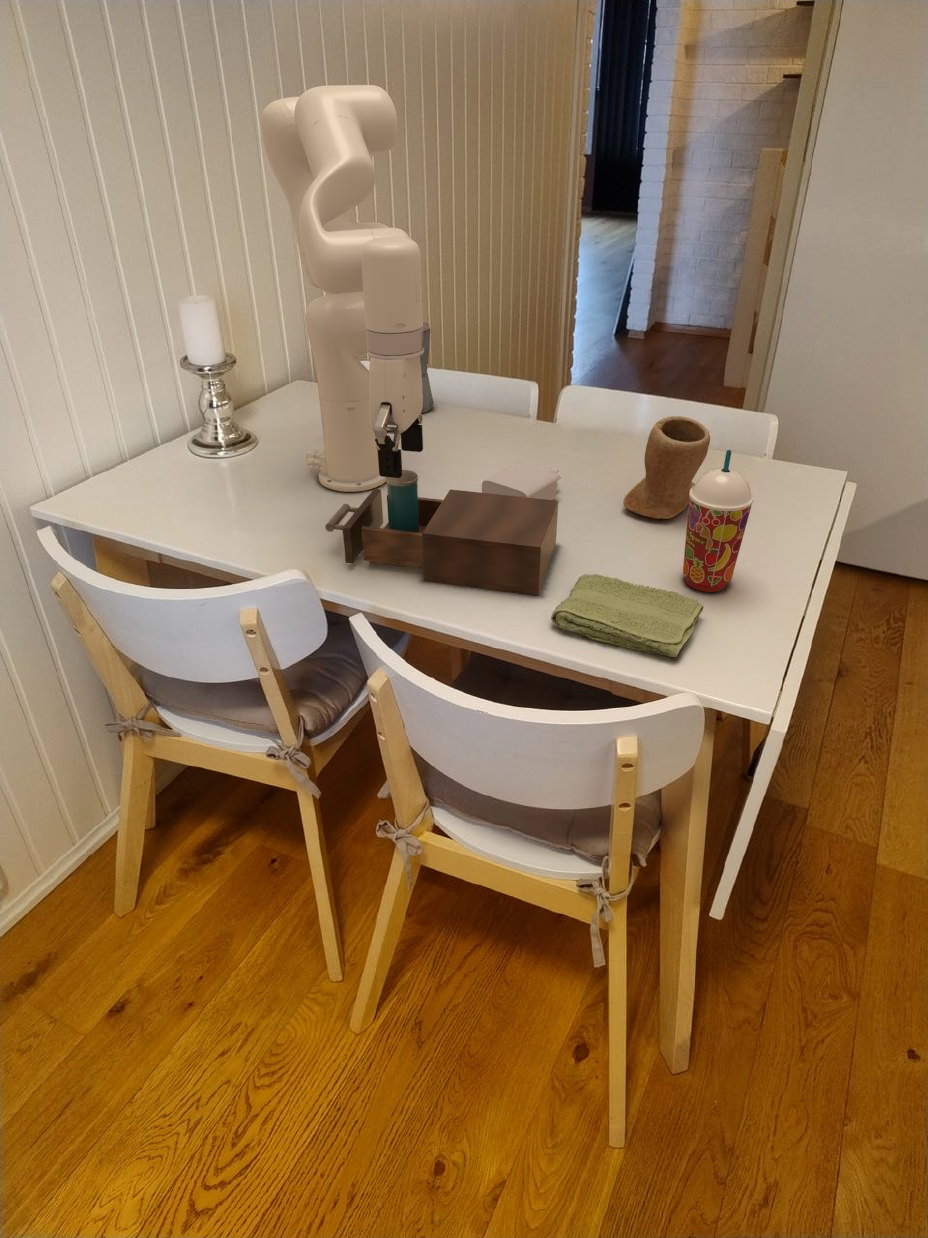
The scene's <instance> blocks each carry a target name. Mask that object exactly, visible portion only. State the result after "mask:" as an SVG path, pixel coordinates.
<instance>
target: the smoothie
mask: <svg viewBox="0 0 928 1238" xmlns="http://www.w3.org/2000/svg"><path fill="white" fill-rule="evenodd" d="M731 457H732V450H731V449H726V452H725V457H724V462H723V467H719V468H714V469H711V470H708V471H707V472H704V473H703V475H701V476H700V477H699V478H698V480H697V481H696V482H695V485H694V486H693V487H692V488H691V489H690V491H689V504H688V506H687V507H688V508H687V519H686V531H685V541H684V542H685V543H684V553H683V564H682V565H683V566H682V574H683V576H684V578H685V583H686V584H687V585H688V586H689V587H690V588H692V589H695V590H697V591H700V592H704V593H715V592H720V591H722V590H724V589H725V588H726V586H727V585H728V584H729V583H730V582H731V580H732V579H733V575H734V572H735V567H736V564H737V561H738V557H739V553H740V550H741V546H742V543H743V539H744V535H745V533H746V529H747V524H748V520H749V517H750V513H751V510H752V505H753V503H754V500H755V499H754V495H753V494H752V492H751V488H750V485H749V483H748V481H747V480H746V479H745V477H744V476H743V475H742V474H741V473H740V472H739V471H736V470H734V469H731V468H730V462H731Z"/></svg>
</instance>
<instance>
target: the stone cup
mask: <svg viewBox="0 0 928 1238" xmlns="http://www.w3.org/2000/svg"><path fill="white" fill-rule="evenodd" d="M646 442H647V443H646V446H645V452H644V470H645V477H643V478H642V479H641V480H640V482H638V483H637V484H636V485H635V486H633V488H631V489H630V490H629V492H627V494H626V495H625V496H624V498H623V501H622V504H623V506H624V508H626V509H627V510H629V511H631V512H632V513H635V514H636V515H641V516H644V517H648V518H651V519H661V520H668V519H672V518H674V517H676V516H677V515H679V514H680V513H682V512H683V511H684V510H685V509H686V508H687V507H688V506H689V491H690V489H691V488H692V487H693V486H694V485H695V484H696V482H693V480H694V478H695V476H696V475H697V473H698V471H699V469H700V468H701V466H702V465H703V463H704V461H705V459H706V457H707V455H708V452H709V447H710V444H711V435H710V431H709V430H708V428H707V427H705V425H704V424H702V423H701V422H700V421H698V420H695V419H693V418H692V417H691V418H690V417H687V416H680V415H671V416H667V417H663V418H661V419H660V420H658V421H657V422H656V423H655V424H654V425H653V426H652V428H651V430H650V432H649V435H648V439H647V441H646Z"/></svg>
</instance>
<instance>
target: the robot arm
mask: <svg viewBox="0 0 928 1238" xmlns="http://www.w3.org/2000/svg"><path fill="white" fill-rule="evenodd" d="M260 126H261V128H260V129H261V135H262V142H263V146H264V150H265V154H266V157H267V161H268V163H269V165H270V168H271V170H272V172H273V175H274V177H275V179H276V181H277V183H278V184H279V186H280V189H281V190H282V192H283V194H284V197H285V199H286V201H287V203H288V206H289V210H290V214H291V220H292V224H293V228H294V233H295V238H296V243H297V247H298V252H299V258H300V261H301V265H302V269H303V272H304V275H305V278H306V279H307V281H308V282H309V284H310V285H312V286H313V287H315V288H317V289H320V290H321V291H323V292H325V293H328V294H325V295H321V296H319V297H316V298H314V300H312V301H311V302H310V303H309V304H308V305H307V307H306V310H305V314H304V322H305V327H306V334H307V336H308V341H309V344H310V348H311V353H312V357H313V360H314V366H315V372H316V380H317V381H316V382H317V392H318V401H319V409H320V417H321V418H320V419H321V427H322V436H323V448H324V449H323V450H322V451H318V450H312V449H307V450H306V452H305V460H306V464H307V466H311V467H319V468H320V470H319V472H318V481H319V483H320V484H321V485H322V486H323V487H325V488H327V489H329V490H333V491H337V492H346V493H347V492H349V493H353V492H354V493H355V492H364V491H368V490H373V489H377V488H379V487H380V486H382V485H383V484H385V483H387V481H386V477H391V478H401V477H402V470H403V459H402V451H403V452H414V453H422V452H423V450H424V437H423V434H424V433H423V415H422V413H421V412H422V408H423V388H422V373H421V363H420V355H422V354H423V353H424V335H423V322H424V312H423V309H424V308H423V284H422V257H421V249H420V247H419V245H418V242H417V241H415V240H414V239H411V238H410V236H409V234H408V233H407V232H406V231H405V230H403V229H401V228H398V227H389V226H388V225H386V224H384V223H382V222H377V221H368V222H367V221H365V222H364V221H363V222H350V221H349V220H348V218H347V216H346V213H347V212H349V211H350V210H352V209H353V208H355V207H358V206H359V205H360V204H361V203H363V202H364V201H365V200H366V199H367V198H368V197H369V196H370V194H371V193H372V192H373V190H374V187H375V185H376V180H377V172H376V168H375V165H374V162H373V160H372V157H375V156H379V155H383V154H386V153H389V152H390V151H391V150H392V149H393V147H394V146H395V145H396V141H397V138H398V132H399V122H398V114H397V110H396V107H395V104H394V102H393V100H392V98H391V96H390V95H389V93H388V92H387V91H386V90H385V89H384V88H382V87H381V86H378V85H375V84H337V85H336V84H334V85H330V84H329V85H320V86H319V85H318V86H314V87H312V88H311V87H310V88H309V89H307V90H306V91H304V92H303V93H302V94H301V95H299V96H290V97H283V98H279V99H276V100H273V101H272V102H270V103H268V104H267V105H266V106H265V108H264V109H263V111H262V113H261V120H260ZM365 354H367V356H369V357H370V358H369V367H368V368H367V367H366V366H365V365H364V363H362V362H361V361H360V360H359V359H358V356H360V355H365ZM390 435H393V439H392V438H391V436H390ZM400 444H401V445H400ZM400 446H401V447H400ZM399 447H400V448H401V449H400V448H399Z"/></svg>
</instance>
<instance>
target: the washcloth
mask: <svg viewBox="0 0 928 1238" xmlns="http://www.w3.org/2000/svg"><path fill="white" fill-rule="evenodd" d="M704 608H705V605H704V604H702V603H700V602H699V601H698V600H697V599H694V598H690V597H688V596H686V595H684V594H681V593H679V592H676V591H671V590H668V589H667V590H666V589H661V588H656V587H652V586H650V585H647V586H645V585H643V584H637V583H636V584H634V583H631V582H629V581H624V580H621V579H619V578H617V577H610V576H605V575H601V574H599V573H593V574H589V573H588V574H582V575H581V576H579V577H578V579H577V581H576V582H575V583H574V585H573V588H571V589H570V593H569V596H568V597H567V598H565V599H564V600H563V601H561V602H560V603H559V604H558V605H557V606H556V607H555V609H554V610H553V611H552V613H551V617H550V619H551V622H552V623H553V625H555V626H556V627H557V628H559V629H561V630H564V631H568V632H573V633H576V634H579V635H582V636H584V637H588V638H589V640H592V641H597V642H600V643H601V642H602V643H607V644H612V645H615V646H618V647H619V646H620V647H623V648H628V649H632V650H636V651H642V652H646V653H650V654H658V655H661V656H666V657H670V658H677V657H678V655H679V653H680V651H681V649H682V648H683V646H684V645H685V643H686V642H687V641H688V640H689V638H691V635H692V634H693V633H694V629H695V624H696V622H697V620H698V618H699V616H700V615H701V614H702V612H703V611H704Z"/></svg>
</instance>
